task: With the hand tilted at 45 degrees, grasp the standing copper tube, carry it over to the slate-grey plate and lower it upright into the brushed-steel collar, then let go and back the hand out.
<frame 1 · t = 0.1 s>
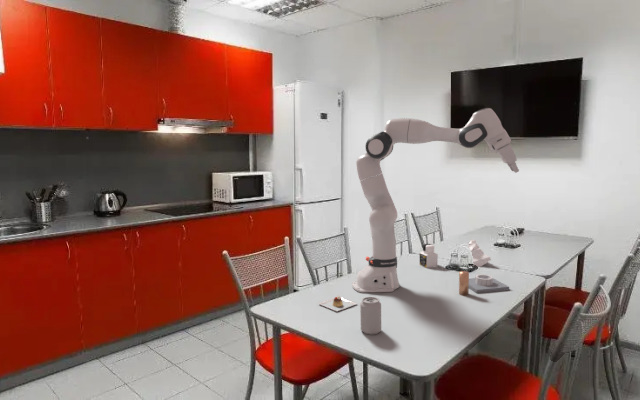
hand: (515, 171, 177), 54 cm above the table, tool tilted 30°, fingers open, 8 cm apart
dessert: (337, 306, 179), on the table
copper tube: (463, 294, 187), on the table
soft serve ice cream: (474, 264, 233), on the table
collar plate: (483, 286, 196), on the table
medicine bottle: (428, 266, 232), on the table
can: (371, 331, 153), on the table
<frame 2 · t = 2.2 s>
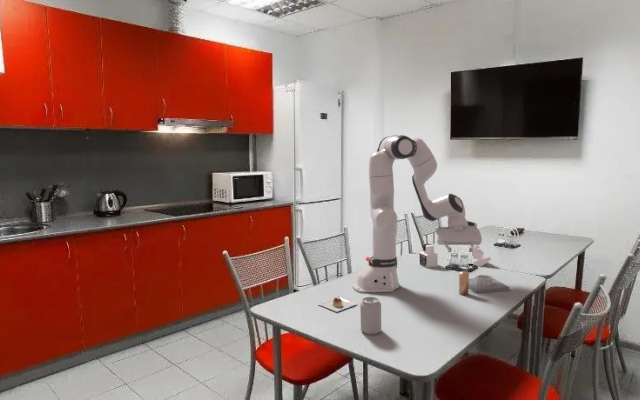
hand: (460, 251, 197), 16 cm above the table, tool tilted 45°, fingers open, 8 cm apart
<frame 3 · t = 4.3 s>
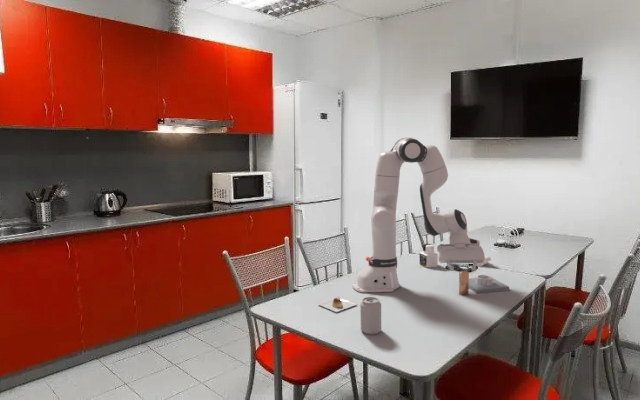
hand: (462, 270, 190), 10 cm above the table, tool tilted 45°, fingers open, 8 cm apart
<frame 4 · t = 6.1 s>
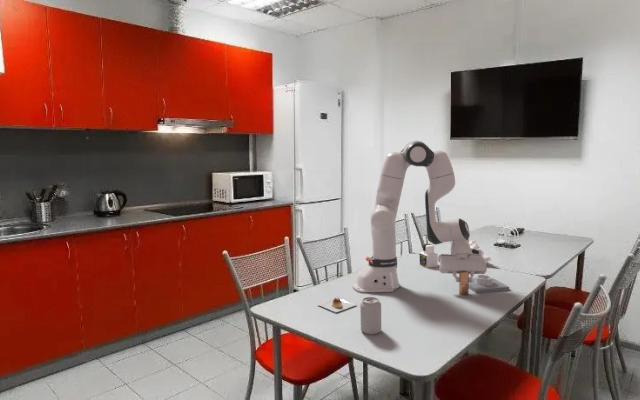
hand: (464, 281, 186), 6 cm above the table, tool tilted 45°, fingers closed on copper tube, 4 cm apart
copper tube: (463, 294, 187), on the table, touching gripper
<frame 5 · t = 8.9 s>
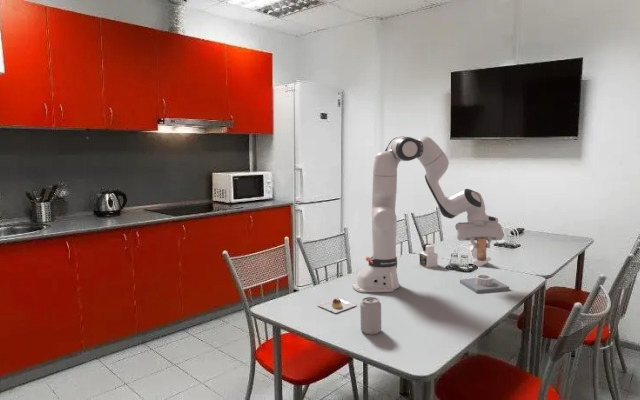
hand: (482, 247, 191), 19 cm above the table, tool tilted 45°, fingers closed on copper tube, 4 cm apart
copper tube: (481, 259, 192), point 13 cm above the table, touching gripper
when the fingers open (9 cm above the table, at t = 11.8 s): copper tube drops 1 cm, resting on collar plate.
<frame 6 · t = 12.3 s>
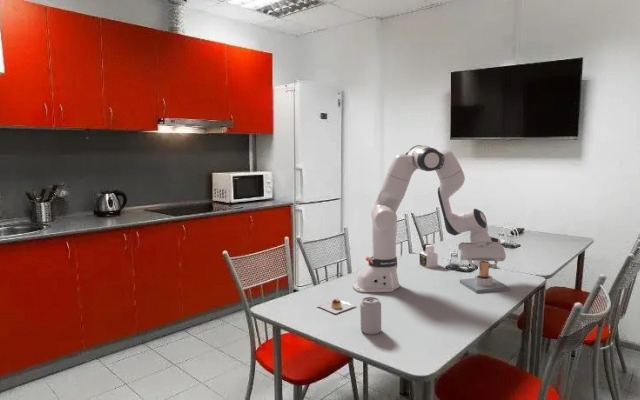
hand: (484, 268, 195), 9 cm above the table, tool tilted 45°, fingers open, 8 cm apart
copper tube: (483, 283, 196), point 2 cm above the table, touching collar plate
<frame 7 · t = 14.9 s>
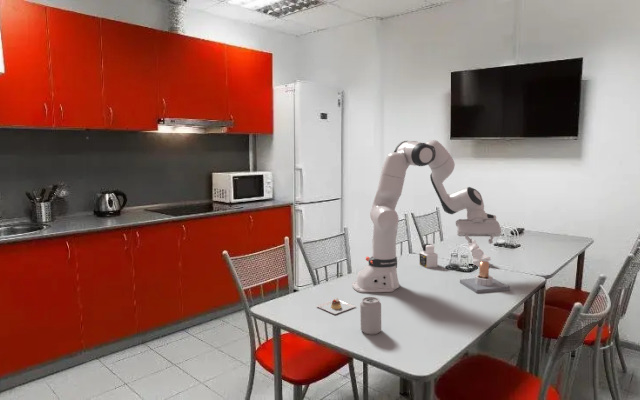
hand: (480, 242, 203), 19 cm above the table, tool tilted 45°, fingers open, 8 cm apart
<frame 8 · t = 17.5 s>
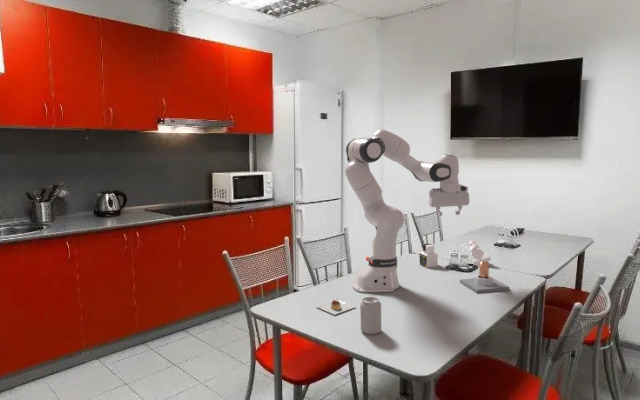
hand: (448, 215, 210), 31 cm above the table, tool pointing down, fingers open, 8 cm apart
at the end: copper tube 0.0 cm off-centre on the collar plate, point 1.5 cm above the collar plate's base; copper tube tilted 1°; the gripper is holding nothing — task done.
